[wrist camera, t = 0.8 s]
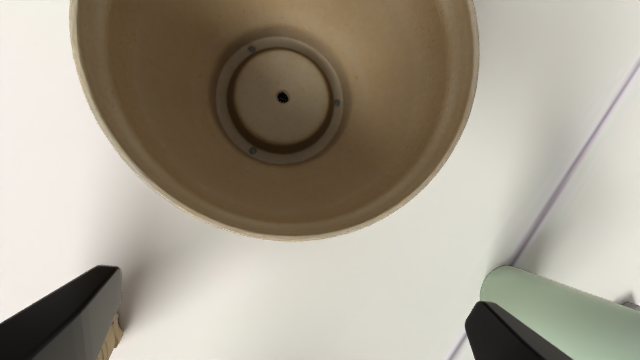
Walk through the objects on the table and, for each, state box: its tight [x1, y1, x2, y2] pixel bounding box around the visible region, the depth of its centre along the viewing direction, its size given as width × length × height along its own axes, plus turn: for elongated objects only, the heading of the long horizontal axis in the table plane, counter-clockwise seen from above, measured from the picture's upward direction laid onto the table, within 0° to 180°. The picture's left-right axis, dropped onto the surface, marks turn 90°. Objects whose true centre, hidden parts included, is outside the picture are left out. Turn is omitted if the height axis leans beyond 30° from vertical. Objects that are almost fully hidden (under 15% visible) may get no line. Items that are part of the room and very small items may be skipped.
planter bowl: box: [69, 0, 479, 241], centre depth 18 cm, size 16×16×11 cm
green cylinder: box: [480, 266, 640, 360], centre depth 21 cm, size 5×5×13 cm
